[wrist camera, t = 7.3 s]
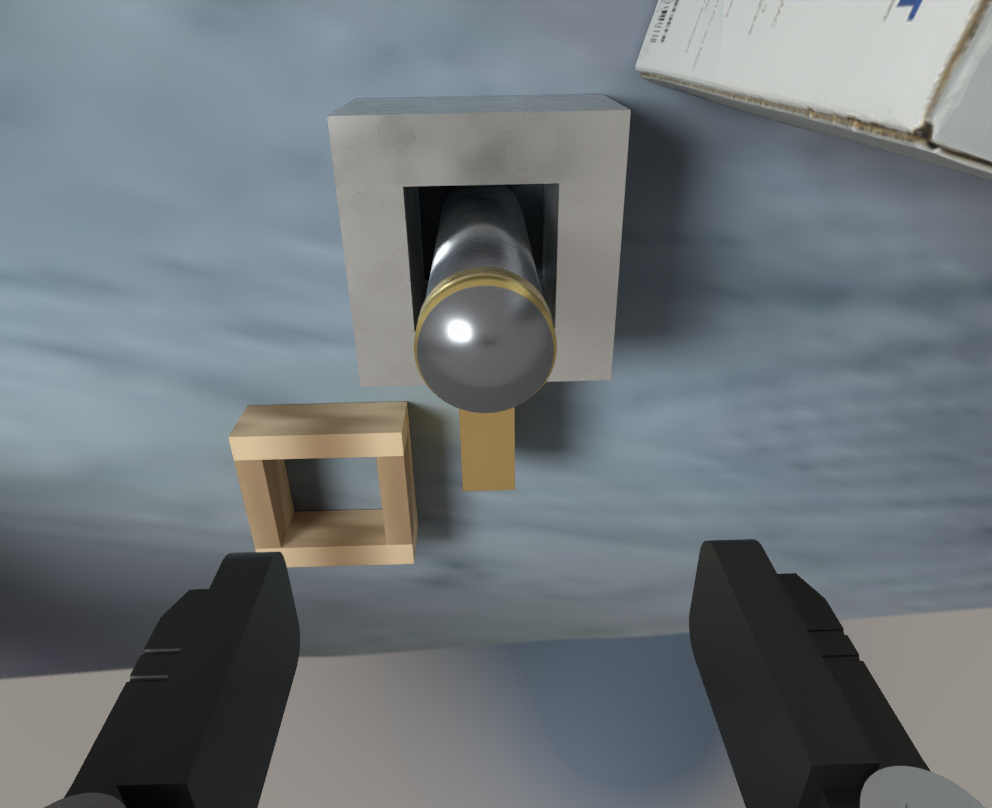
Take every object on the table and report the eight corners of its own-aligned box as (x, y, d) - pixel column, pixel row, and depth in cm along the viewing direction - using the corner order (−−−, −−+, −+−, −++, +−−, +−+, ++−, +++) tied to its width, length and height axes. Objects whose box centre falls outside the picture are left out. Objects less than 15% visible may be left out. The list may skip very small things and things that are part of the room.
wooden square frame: (274, 530, 38) (259, 568, 36) (247, 405, 34) (228, 437, 32) (418, 526, 38) (414, 563, 36) (407, 401, 35) (401, 432, 32)
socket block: (379, 328, 33) (360, 386, 27) (355, 98, 28) (326, 116, 23) (589, 323, 33) (611, 380, 28) (601, 93, 28) (631, 110, 23)
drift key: (464, 441, 36) (463, 491, 32) (456, 273, 31) (454, 307, 28) (510, 440, 36) (514, 489, 32) (509, 272, 31) (514, 306, 28)
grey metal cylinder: (441, 262, 31) (418, 418, 19) (436, 176, 29) (407, 286, 17) (525, 261, 31) (555, 414, 19) (525, 174, 29) (560, 282, 17)
